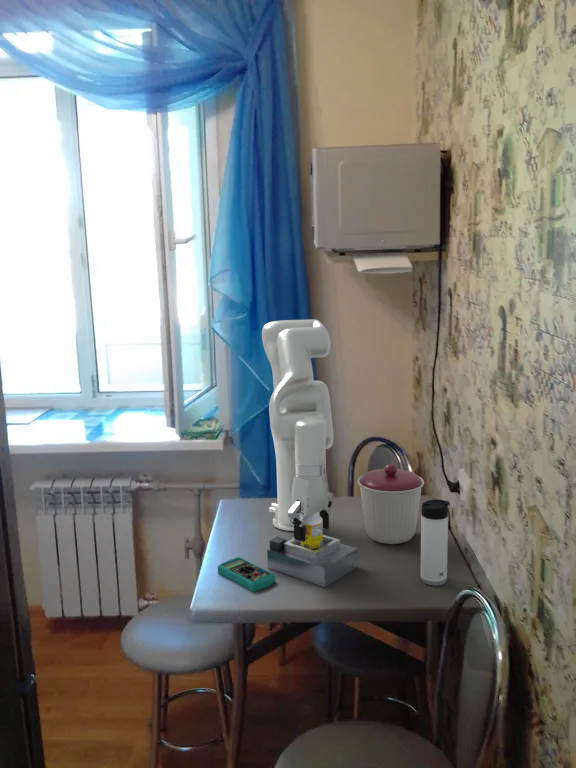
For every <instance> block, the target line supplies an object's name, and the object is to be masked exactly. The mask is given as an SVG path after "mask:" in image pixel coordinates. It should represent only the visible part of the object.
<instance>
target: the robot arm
mask: <svg viewBox="0 0 576 768" xmlns="http://www.w3.org/2000/svg"><path fill="white" fill-rule="evenodd" d="M261 339H262V345H263V349H264V352H265V355H266V357H267V360H268V362H269V364H270V367H271V372H272V384H273V392H272V394H271V396H270V399H269V403H268V405H269V406H268V415H269V423H270V425H269V426H270V430H271V435H272V439H273V440H272V441H273V445H274V452H275V460H276V461H275V462H276V463H275V464H276V465H275V466H276V491H277V492H276V494H277V496H276V497H277V503H276V502H272V503H271V505H270V507H269V509H268V511H269V512H270V513H274V514H275V515H274V517H273V519H272V525H273V526H274V527H275V528H277V529H279V530H283V531H286V532H287V531H289V532H293V536H294V539H295V540H298V541H302V542H304V541H306V532H305V526H303V525H304V523H305V521H306V518H307V517H309V516H312V515H314V514H315V513H317V512H319V514H320V516H321V517H322V519H323V529H324V530H328V529H329V528H330V513H331V507H332V504H333V503H332V502H333V498H334V493H333V492H331V491H329V484H328V483H329V482H328V476H327V465H326V464H327V463H326V454H327V453H326V450H328V449H329V448H331V447H332V445H333V444H334V443H333V442H334V428H333V427H334V426H333V416H332V408H331V399H330V398H331V397H330V393H329V388H328V386H327V385H326V383H325V382H323V381H322V380H314V372H313V365H312V360H311V359H313V358H314V359H315V358H325V357H328V355H329V353H330V351H331V337H330V335H329V332H328V330H327V329H326V327H325V325H324V324H323V323H322V322H321V321H320V320H318V319H314V318H313V319H287V320H286V319H285V320H284V319H283V320H274V321H269V322H268V323H266V324H264V325H263V327H262V330H261Z"/></svg>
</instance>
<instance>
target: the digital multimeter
mask: <svg viewBox="0 0 576 768" xmlns="http://www.w3.org/2000/svg"><path fill="white" fill-rule="evenodd" d="M217 573H218V574H219V575H221V576H223V577H225V578H227V579H229V580H231V581H233V582H235V583H237V584H238V585H240V586H243V587H244V588H246V589H247V590H249V591H251V592H256V591H260V590H264V589H265V588H267V587H270V586H271V585H273V584H274V583H276V574H274V573H272V572H271V571H269V570H267V569H264V568H262V567H260V566H258V565H256V564H254V563H252V562H250V561H248V560H247V559H244V558H242V557H241V556H238V557H235V558H232V559H230V560H227V561H225V562H224V561H223V562H222V563H220V564H218V565H217Z"/></svg>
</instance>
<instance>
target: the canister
mask: <svg viewBox="0 0 576 768" xmlns="http://www.w3.org/2000/svg"><path fill="white" fill-rule="evenodd" d="M357 484H358V486H359V488H360V496H361V505H362V514H363V520H364V521H363V522H364V527H365V528H364V529H365V532H366V534H367V535H368V537H369V539H371V540H373V541H375V542H377V543H380V544H385V545H386V544H387V545H397V544H403V543H406V542H409V541H410V540H411V539H413V538H414V536H415V533H416V529H417V523H418V517H419V510H420V501H421V494H422V488H423V487H424V485H425V481H424V479H423V478H422V477H421V476H419V475H418V474H416V473H414V472H411V471H409V470H405V469H401V468H400V469H399V468H397V466H396V465H395V464H394V463H388V464H386V465H385V466H384V468H379V469H373V470H370V471H367V472H366V473H364V474H362V475H361V476H359V477H358V479H357Z"/></svg>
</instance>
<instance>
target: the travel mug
mask: <svg viewBox="0 0 576 768" xmlns="http://www.w3.org/2000/svg"><path fill="white" fill-rule="evenodd" d="M450 506H451V504H450V501H449V500H444V499H429V500H426V501H424V502H423V503H422V505H421V514H420V515H421V517H420V524H421V525H420V581H422V583H423V584H426V585H428V586H443V585H445V584H446V583H447V581H448V545H449V544H448V543H449V542H448V540H449V539H448V536H449V534H448V533H449V532H448V531H449V509H448V507H450Z"/></svg>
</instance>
